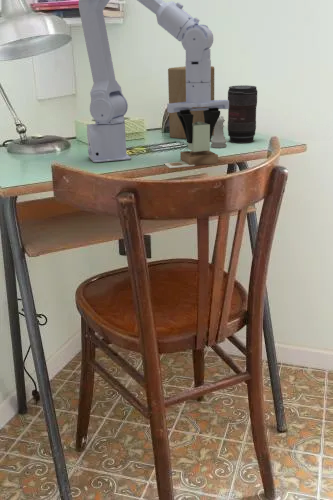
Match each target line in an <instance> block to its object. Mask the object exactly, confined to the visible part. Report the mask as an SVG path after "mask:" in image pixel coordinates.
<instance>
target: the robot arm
mask: <svg viewBox="0 0 333 500" xmlns="http://www.w3.org/2000/svg"><path fill="white" fill-rule="evenodd" d="M110 1H111V0H78V10H79V11H78V12H79V16H80V19H81V26H82V29H83V36H84V41H85V45H86V51H87V57H88V62H89V66H90V72H91V75H92V76H91V77H92V81H93V85H92V87H91V88H90V93H89V95H90V104H89V112H90V115H91V117H92V119H93V120H95V121H94V122H95V123H89V124H87V126H86V137H87V139H86V140H87V151H88V152H87V153H88V158H89V159H90V160H91V161H92V162H93V163H102V162H103V163H104V162H113V161H114V162H115V161H125V160H132V157H131V156H130V155H129V154H128V153H127V143H126V142H127V140H126V139H127V136H126V123H125V117H124V116H125V115H126V113H127V112H128V107H129V106H128V105H129V104H128V100H127V99H126V97H125V96H124V94H123V92H122V91H123V90H122V86H121V85H120V84H119V83H118V81H117V80H116V76H115V75H116V74H115V70H114V69H115V68H114V65H113V58H112V54H111V53H112V52H111V47H110V43H109V37H108V32H107V26H106V20H105V16H104V9H106V7H107V5H108V4H109V2H110ZM136 1H137V2H138V3H140V4H141V5H143V6H144V7H145V8H147V9H148V10H149V11H150V12H152V13H153V14H154V15H155V16H156V22H157V25H159V26H160V27H161V28H162V29H164V31H166V32H167V33H168V34H169V35H170V36H172V37H173V38H175V39H176V40H177V41H178V42H180V43H181V46H182V48H183V50H185V66H186V102H178V103H169V102H168V103H167V104H166V105H167V106H166V108H167V113H168V114H169V113H174V112H177V115H178V117H179V119H180V121H181V124H182V126H183V129H184V132H185V135H186V139H185V140H186V143H187V144H188V143H189V144H190V143H192V139H193V138H192V124H193V116H194V115H193V114H191V112H190V111H200V110H204V111H203V113H204V121H205V123H207V124H210V143H211V140H212V137H213V135H212V133H213V130H214V127H215V124H216V122H217V120H218V118H219V117H221V111H220V110H228V109H229V100H228V99H219V100H218V99H214V100H211V66H212V59H211V47H212V46H213V43H214V34H213V32H212V30H211V29H210V28H209V27H208V25H206V24H200V23H199V22H201V20H200V19H199V18H198V17H193V16H192V15H191V14H189V13H188V12H187V11H185V10H184V9H183V8H184V5H183V4H182V3H181V2H175V1H172V0H171V1H168V2H167V1H166V2H165V1H164V0H136ZM192 107H207V108H192ZM191 108H192V109H191Z"/></svg>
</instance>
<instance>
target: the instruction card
mask: <svg viewBox="0 0 333 500" xmlns="http://www.w3.org/2000/svg"><path fill="white" fill-rule="evenodd" d="M164 164H165V166H166V167H167V168H169V169H175V168H188V167H195V166H196V165H189V164H188V163H186V162H184V161H175V162H164V163H163V165H164Z"/></svg>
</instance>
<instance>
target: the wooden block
mask: <svg viewBox="0 0 333 500" xmlns="http://www.w3.org/2000/svg"><path fill="white" fill-rule="evenodd" d="M167 78H168V79H167V82H168V103H178V102H186V65H185V66H176V67H168V69H167ZM211 100H215V66H213V65H211ZM192 108H207V107H192ZM192 108H191V109H192ZM203 111H204V110H200V111H190V112H191V114H193V115H194V116H193V123H195V122H204V123H205V121H204V113H203ZM168 116H169V117H168V119H169V121H168V123H169V138H170V139H180V140H186V135H185V132H184V129H183V126H182V124H181V121H180V119H179V117H178V115H177V112H174V113H169V112H168ZM213 135H214V130H213V133H212V136H213Z"/></svg>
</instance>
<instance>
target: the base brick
mask: <svg viewBox="0 0 333 500" xmlns="http://www.w3.org/2000/svg"><path fill="white" fill-rule="evenodd" d="M179 160H180V161H181V160H182V161H181V162H183V161H184V162H186V163H188V164H189V165H195V166H202V165H213V164H219V154H217V153H216V152H213V151H211V150H209V151H197V152H193V151H191V150H190V151H189V150H185V151H180V159H179Z"/></svg>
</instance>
